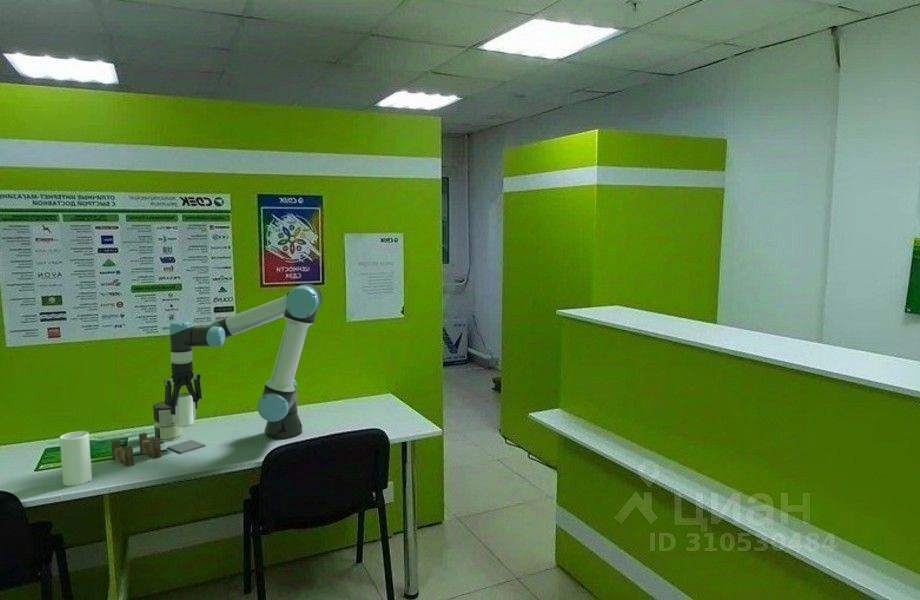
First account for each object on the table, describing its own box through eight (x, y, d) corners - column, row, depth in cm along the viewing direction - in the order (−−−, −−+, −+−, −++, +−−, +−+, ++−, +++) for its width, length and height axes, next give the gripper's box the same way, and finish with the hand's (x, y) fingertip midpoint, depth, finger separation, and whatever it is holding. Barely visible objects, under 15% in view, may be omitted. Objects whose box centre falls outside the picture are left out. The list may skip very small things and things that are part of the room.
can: (184, 421, 239) (183, 391, 237) (197, 423, 237) (196, 393, 235) (171, 426, 233) (170, 395, 231) (185, 428, 230) (183, 397, 229)
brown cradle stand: (161, 456, 226) (160, 438, 225) (128, 466, 216) (126, 447, 215) (145, 450, 233) (144, 432, 232) (112, 459, 223) (111, 441, 222)
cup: (71, 476, 207) (68, 431, 206) (96, 475, 208) (93, 430, 206) (58, 486, 199) (54, 439, 198) (84, 485, 200) (80, 438, 198)
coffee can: (149, 440, 243) (146, 406, 242) (166, 432, 253) (164, 399, 252) (171, 442, 241) (169, 408, 239) (188, 434, 251) (186, 401, 250)
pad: (205, 446, 237) (205, 444, 236) (180, 453, 229) (180, 452, 228) (191, 441, 242) (191, 439, 242) (167, 448, 234) (167, 446, 234)
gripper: (200, 356, 242) (202, 412, 244) (151, 364, 226) (154, 424, 229) (210, 358, 237) (212, 415, 240) (162, 367, 222) (165, 428, 224)
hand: (184, 419), depth 234 cm, fingers closed on can, 6 cm apart
